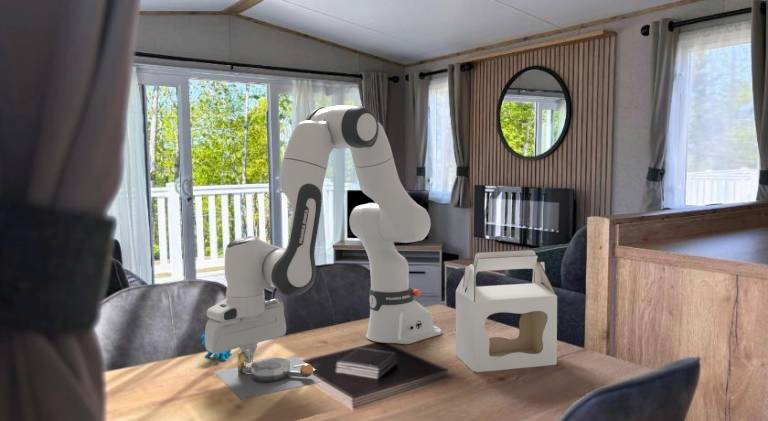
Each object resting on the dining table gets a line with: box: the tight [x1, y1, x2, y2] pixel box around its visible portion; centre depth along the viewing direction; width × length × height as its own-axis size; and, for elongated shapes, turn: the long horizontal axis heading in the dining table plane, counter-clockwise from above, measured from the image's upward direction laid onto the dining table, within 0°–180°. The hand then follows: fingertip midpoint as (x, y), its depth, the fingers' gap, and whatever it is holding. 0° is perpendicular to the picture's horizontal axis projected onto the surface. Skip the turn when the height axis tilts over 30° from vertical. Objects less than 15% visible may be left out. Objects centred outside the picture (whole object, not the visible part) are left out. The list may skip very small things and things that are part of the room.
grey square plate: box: [213, 356, 322, 401], centre depth 137 cm, size 21×20×1 cm
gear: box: [200, 331, 233, 362], centre depth 152 cm, size 11×6×10 cm
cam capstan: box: [237, 351, 314, 382], centre depth 136 cm, size 10×19×5 cm, turn 76°
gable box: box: [455, 249, 558, 374], centre depth 148 cm, size 22×13×28 cm, turn 103°
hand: (248, 362), depth 140 cm, fingers closed
